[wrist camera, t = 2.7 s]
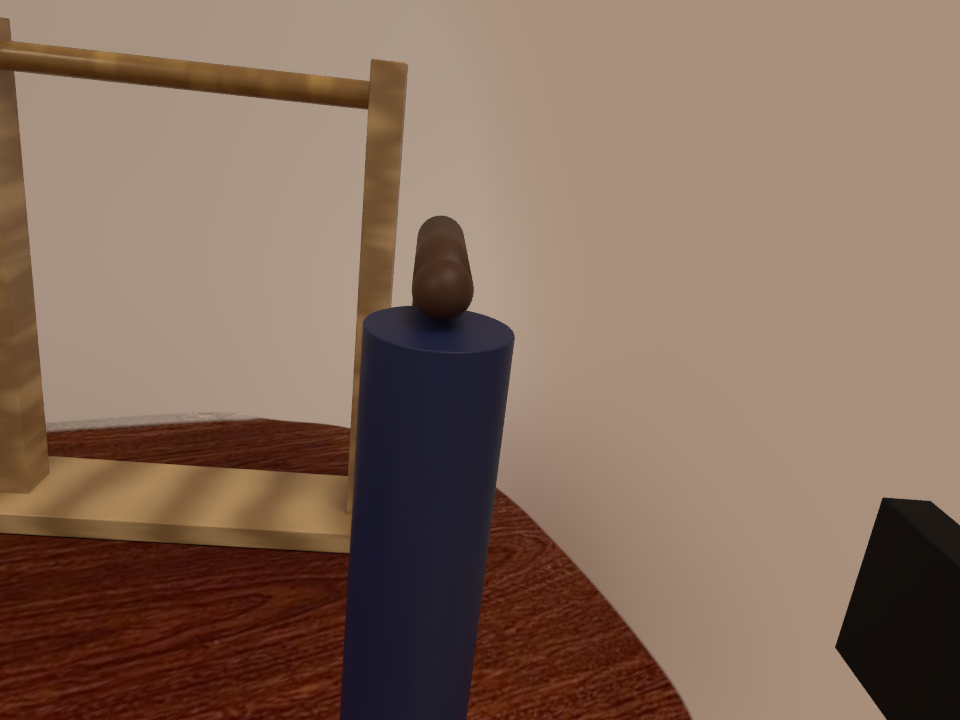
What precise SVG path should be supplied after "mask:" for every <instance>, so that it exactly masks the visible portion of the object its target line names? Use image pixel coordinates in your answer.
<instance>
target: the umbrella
mask: <svg viewBox="0 0 960 720" xmlns="http://www.w3.org/2000/svg"><path fill="white" fill-rule="evenodd" d="M473 290H474V287H473V281H472V276H471V271H470V265H469V260H468V255H467V250H466V245H465V239H464V235H463V231H462V229H461V227H460V226H459V224H458V223H457V222H456V221H455V220H453V219H452V218H449V217H447V216H435V217H432V218H430V219H428V220H427V221H426V222H425V223H424V224H423V225H422V226H421V228H420V230H419V233H418V239H417V247H416V256H415V265H414V273H413V282H412V296H413V303H412V306H402V307H393V308H387V309H383V310H379V311H376V312H373V313H371V314H370V315H368V316H367V317H366V318H365V319H364V321H363V328H362V345H361V362H360V380H359V397H358V414H357V432H356V449H355V466H354V484H353V501H352V518H351V536H350V553H349V570H348V588H347V605H346V622H345V640H344V657H343V674H342V692H341V709H340V720H466V718H467V710H468V702H469V694H470V686H471V678H472V670H473V662H474V655H475V647H476V639H477V631H478V623H479V615H480V607H481V599H482V591H483V584H484V576H485V568H486V560H487V552H488V544H489V536H490V528H491V520H492V512H493V505H494V497H495V489H496V480H497V473H498V464H499V457H500V449H501V441H502V434H503V425H504V417H505V409H506V402H507V394H508V386H509V378H510V370H511V362H512V355H513V347H514V339H515V338H514V333H513V331H512V330H511V329H510V328H509V327H508V326H507V325H505V324H504V323H502V322H500V321H498V320H496V319H493V318H491V317H488V316H485V315H481V314H478V313H474V312H470V311H466V310H467V308H468V307H469V305H470V303H471V301H472V297H473V292H474V291H473Z"/></svg>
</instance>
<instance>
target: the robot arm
mask: <svg viewBox="0 0 960 720" xmlns="http://www.w3.org/2000/svg"><path fill="white" fill-rule="evenodd" d="M835 648H836V649H837V651H838V652H839V653H840V655H841V656H842V658H843V659H844V660H845V662H846V663H847V665H848V666H849V668H850V669H851V670H852V672H853V673H854V675H855V676H856V677H857V679H858V680H859V681H860V683H861V684H862V686H863V687H864V688H865V690H866V691H867V693H868V694H869V695H870V697H871V698H872V700H873V701H874V702H875V704H876V705H877V706H878V708H879V709H880V711H881V712H882V714H883V715H884V716H885V718H886V719H887V720H960V525H959V524H957V523H956V522H955V521H954V520H953V519H952V518H950V517H949V516H948V515H947V514H945V513H944V512H943V511H942V510H941V509H939V508H938V507H937V506H936V505H935V504H933V503H932V502H931V501H922V500H908V499H894V498H883V499H882V502H881V505H880V508H879V511H878V514H877V518H876V520H875V523H874V527H873V530H872V533H871V536H870V539H869V542H868V546H867V549H866V552H865V555H864V559H863V561H862V565H861V568H860V571H859V574H858V577H857V580H856V583H855V586H854V590H853V593H852V596H851V599H850V603H849V606H848V609H847V612H846V615H845V618H844V621H843V624H842V628H841V631H840V634H839V637H838V640H837V643H836V646H835Z"/></svg>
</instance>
